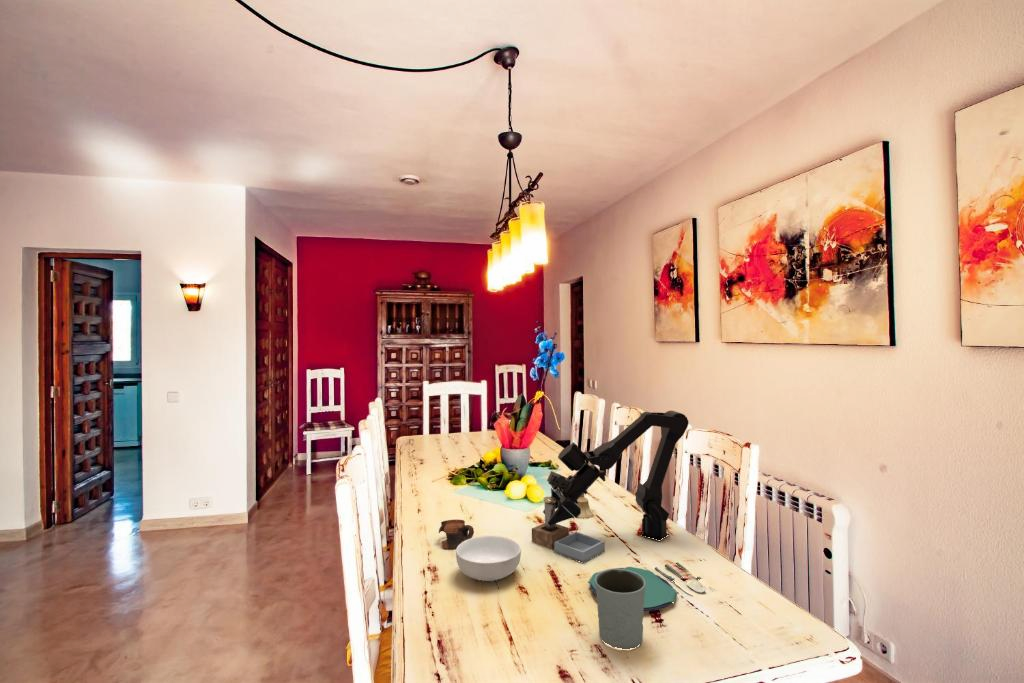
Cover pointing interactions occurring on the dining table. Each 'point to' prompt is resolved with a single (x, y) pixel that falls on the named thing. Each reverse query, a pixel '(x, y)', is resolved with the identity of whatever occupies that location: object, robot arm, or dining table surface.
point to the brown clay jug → (455, 532)
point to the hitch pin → (549, 512)
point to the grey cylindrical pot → (620, 607)
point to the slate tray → (579, 547)
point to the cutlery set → (652, 587)
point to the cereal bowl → (488, 557)
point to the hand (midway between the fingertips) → (546, 518)
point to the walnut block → (548, 535)
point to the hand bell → (584, 508)
